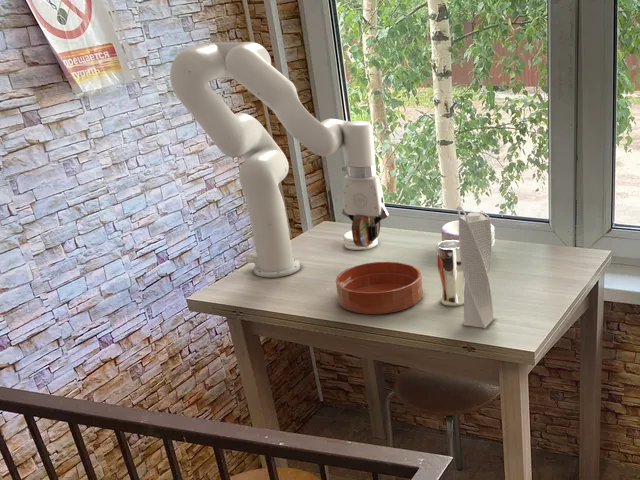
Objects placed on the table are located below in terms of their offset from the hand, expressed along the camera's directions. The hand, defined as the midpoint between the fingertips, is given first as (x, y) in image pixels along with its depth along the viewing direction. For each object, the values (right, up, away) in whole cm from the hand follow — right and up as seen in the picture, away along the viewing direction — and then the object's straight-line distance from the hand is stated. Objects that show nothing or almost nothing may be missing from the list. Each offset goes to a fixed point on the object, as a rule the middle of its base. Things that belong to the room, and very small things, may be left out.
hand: (367, 238), depth 215 cm
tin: (0, -1, +1) cm, 1 cm away
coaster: (-6, +2, +23) cm, 24 cm away
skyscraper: (+31, -25, -27) cm, 48 cm away
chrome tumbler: (+25, -19, -16) cm, 35 cm away
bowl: (+6, -18, -13) cm, 23 cm away
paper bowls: (+27, -2, +15) cm, 31 cm away
